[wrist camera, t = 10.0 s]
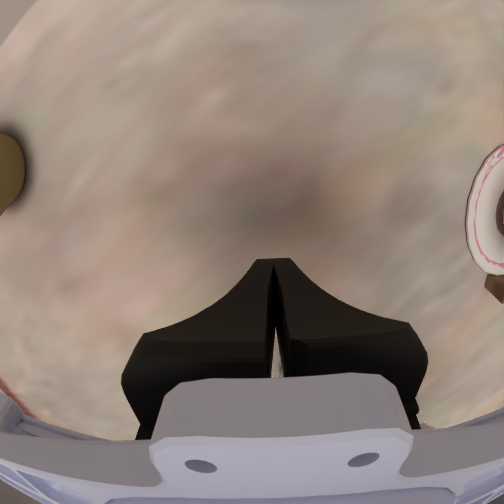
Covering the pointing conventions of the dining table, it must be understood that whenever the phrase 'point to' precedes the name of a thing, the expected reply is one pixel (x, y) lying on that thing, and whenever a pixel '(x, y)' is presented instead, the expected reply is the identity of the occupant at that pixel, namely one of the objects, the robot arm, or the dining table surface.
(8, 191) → the squeeze bottle
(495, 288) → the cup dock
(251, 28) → the dining table surface
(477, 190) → the teacup
